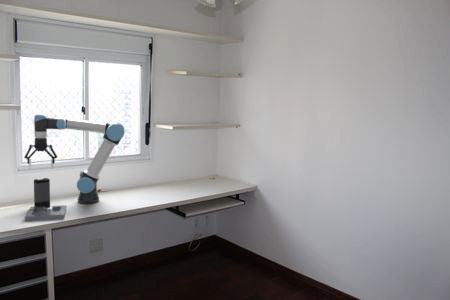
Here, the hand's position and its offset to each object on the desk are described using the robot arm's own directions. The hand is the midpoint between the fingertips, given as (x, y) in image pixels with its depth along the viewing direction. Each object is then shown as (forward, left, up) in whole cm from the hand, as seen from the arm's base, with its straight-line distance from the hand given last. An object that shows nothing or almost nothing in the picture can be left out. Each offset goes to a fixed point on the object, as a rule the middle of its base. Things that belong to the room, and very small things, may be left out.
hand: (41, 168), depth 259 cm
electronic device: (0, 0, -28) cm, 28 cm away
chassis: (-5, +19, -28) cm, 34 cm away
